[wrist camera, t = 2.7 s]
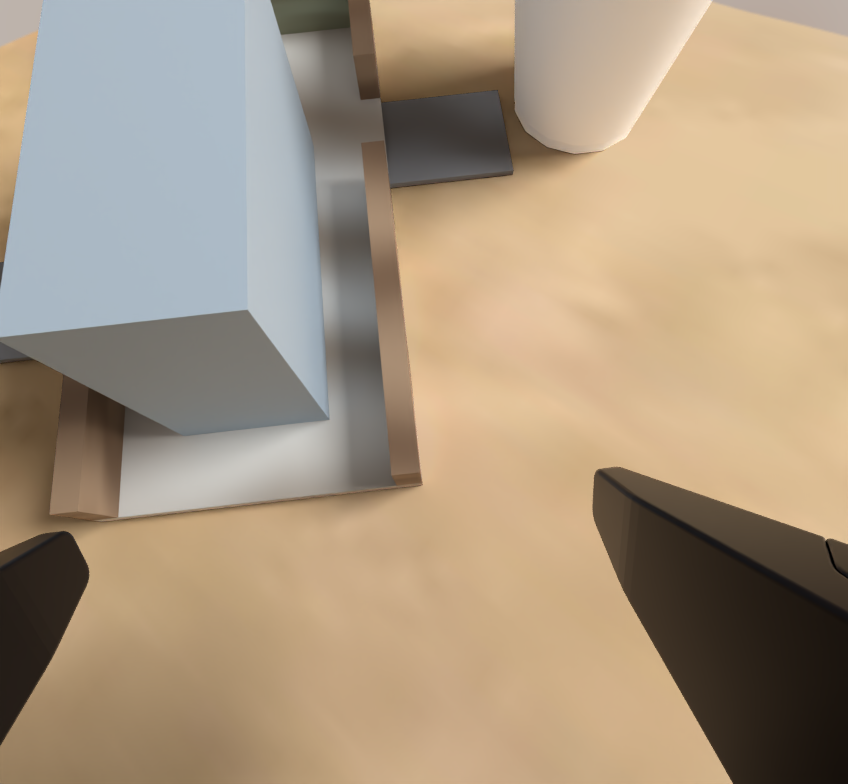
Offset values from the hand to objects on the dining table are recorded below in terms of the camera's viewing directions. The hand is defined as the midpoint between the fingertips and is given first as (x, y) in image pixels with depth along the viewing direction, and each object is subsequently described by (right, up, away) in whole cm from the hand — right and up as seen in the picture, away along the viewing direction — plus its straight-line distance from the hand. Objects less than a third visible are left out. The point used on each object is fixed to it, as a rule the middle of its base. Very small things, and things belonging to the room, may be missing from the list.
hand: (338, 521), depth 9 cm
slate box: (-6, +7, +15) cm, 18 cm away
